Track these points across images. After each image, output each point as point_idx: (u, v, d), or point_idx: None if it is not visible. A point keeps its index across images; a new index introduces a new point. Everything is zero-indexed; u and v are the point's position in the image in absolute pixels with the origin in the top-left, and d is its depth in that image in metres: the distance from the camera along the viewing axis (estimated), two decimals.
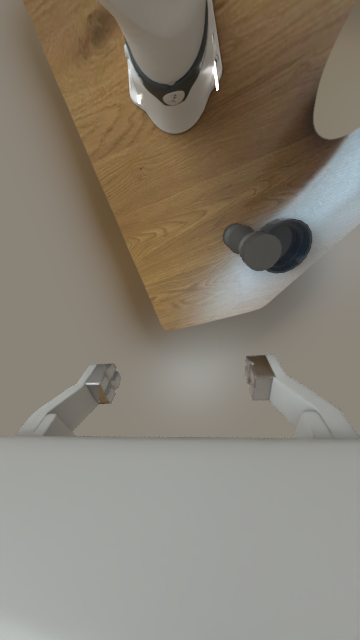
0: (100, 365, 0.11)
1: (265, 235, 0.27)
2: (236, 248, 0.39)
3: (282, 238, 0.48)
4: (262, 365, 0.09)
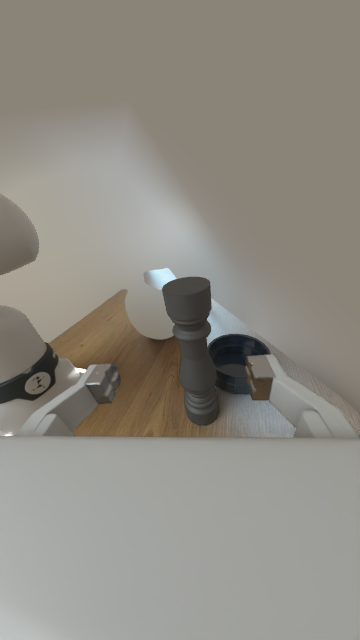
0: (100, 365, 0.11)
1: (167, 283, 0.22)
2: (195, 367, 0.25)
3: (230, 362, 0.42)
4: (262, 365, 0.09)
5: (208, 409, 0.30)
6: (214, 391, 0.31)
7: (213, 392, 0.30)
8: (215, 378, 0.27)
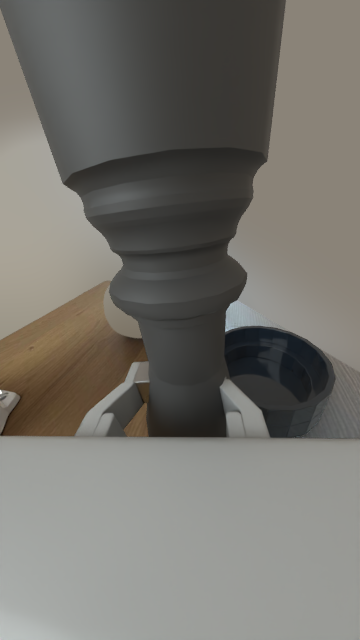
0: (144, 363, 0.10)
1: None
2: (186, 405, 0.08)
3: (247, 373, 0.25)
4: None
5: None
6: None
7: None
8: None
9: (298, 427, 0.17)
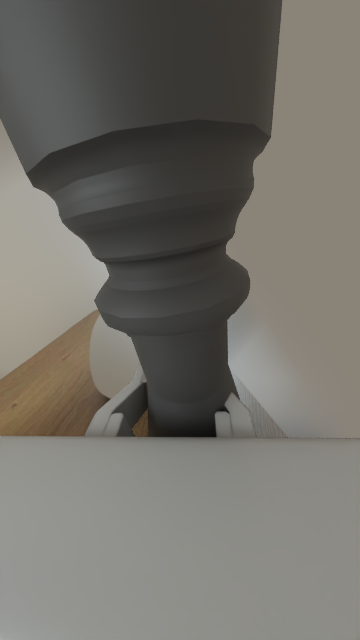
0: None
1: None
2: (163, 418, 0.07)
3: None
4: None
5: None
6: None
7: None
8: None
9: None
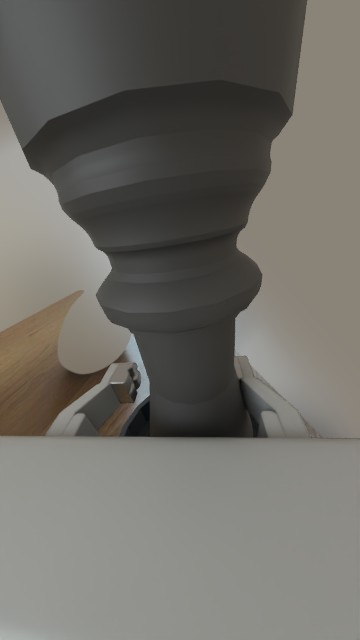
0: (122, 364, 0.11)
1: None
2: (166, 419, 0.07)
3: None
4: None
5: None
6: None
7: None
8: None
9: None
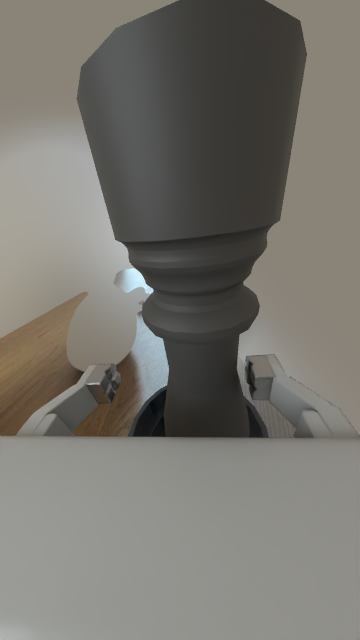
0: (100, 365, 0.11)
1: None
2: (184, 406, 0.09)
3: None
4: (262, 365, 0.09)
5: None
6: None
7: None
8: None
9: None
